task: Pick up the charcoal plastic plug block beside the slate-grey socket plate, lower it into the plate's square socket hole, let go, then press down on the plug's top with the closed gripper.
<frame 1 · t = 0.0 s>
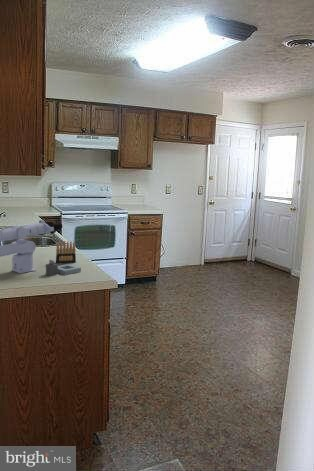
hand: (57, 224, 218), 22 cm above the table, tool horizontal, fingers open, 7 cm apart
plug: (51, 274, 202), on the table
socket plate: (66, 271, 209), on the table
ammunition clip: (65, 262, 228), on the table
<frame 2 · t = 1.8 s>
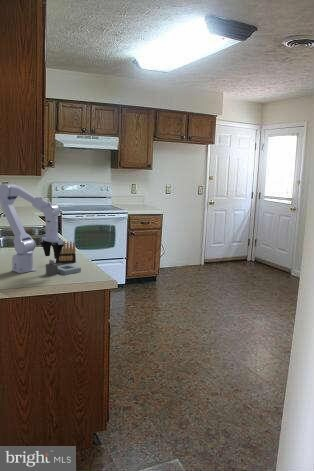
hand: (52, 257, 201), 8 cm above the table, tool pointing down, fingers open, 7 cm apart
nothing on the table moved.
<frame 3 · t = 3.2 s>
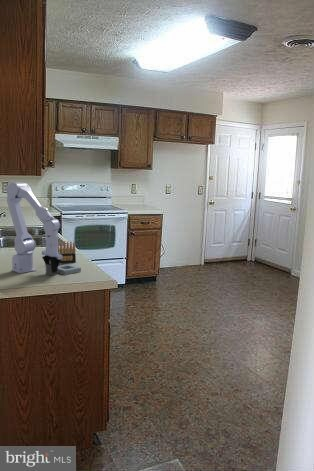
hand: (51, 271, 202), 1 cm above the table, tool pointing down, fingers closed on plug, 4 cm apart
plug: (51, 274, 202), on the table, touching gripper
everything else where it was.
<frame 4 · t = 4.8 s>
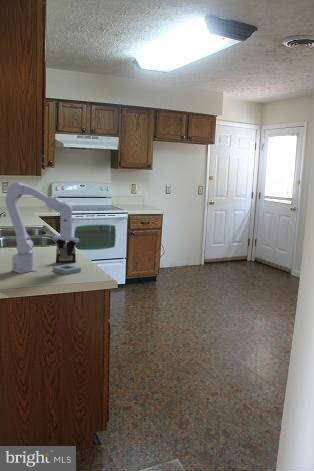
hand: (66, 255, 207), 8 cm above the table, tool pointing down, fingers closed on plug, 4 cm apart
plug: (65, 258, 207), point 7 cm above the table, touching gripper
everything else where it was.
when the fingers open (3 cm above the table, at t = 6.6 s): plug drops 1 cm, resting in socket plate.
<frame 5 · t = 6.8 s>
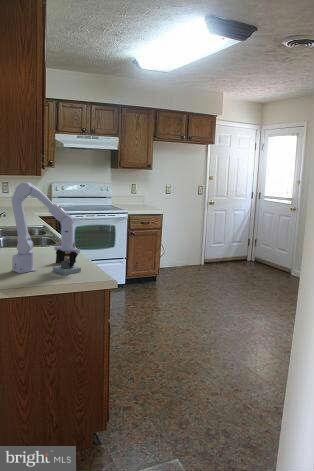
hand: (66, 265, 209), 3 cm above the table, tool pointing down, fingers open, 5 cm apart
plug: (66, 271, 209), resting in socket plate
everything else where it was.
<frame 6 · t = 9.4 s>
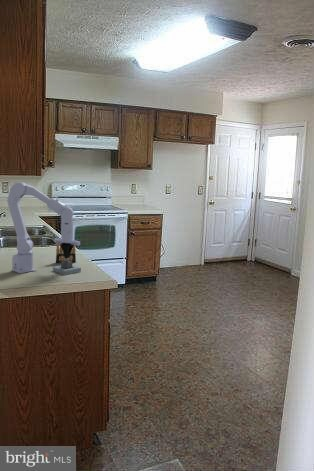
hand: (67, 258, 208), 7 cm above the table, tool pointing down, fingers closed, pressing on plug
plug: (66, 271, 209), resting in socket plate, touching gripper
everything else where it was.
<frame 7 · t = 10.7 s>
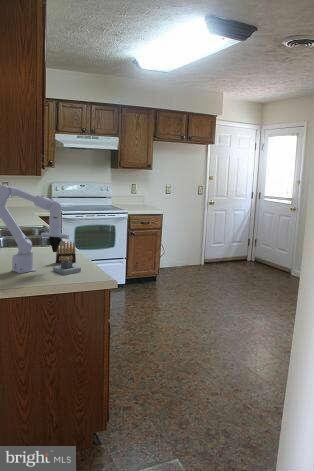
hand: (55, 251, 209), 9 cm above the table, tool pointing down, fingers closed
plug: (66, 271, 209), resting in socket plate
everything else where it was.
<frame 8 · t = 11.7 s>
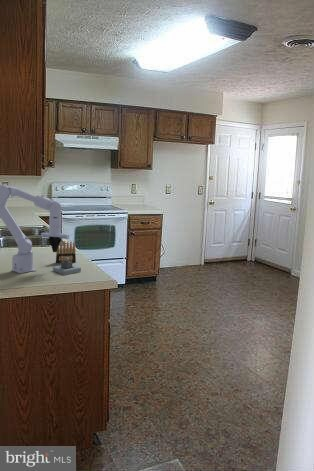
hand: (55, 251, 209), 9 cm above the table, tool pointing down, fingers closed
nothing on the table moved.
at the end: plug 0.2 cm off-centre on the socket plate, point 0.0 cm above the socket plate's base; plug tilted 0°; the gripper is holding nothing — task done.
